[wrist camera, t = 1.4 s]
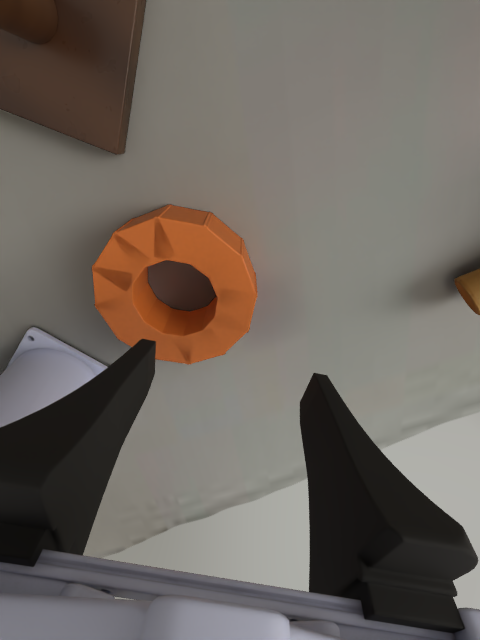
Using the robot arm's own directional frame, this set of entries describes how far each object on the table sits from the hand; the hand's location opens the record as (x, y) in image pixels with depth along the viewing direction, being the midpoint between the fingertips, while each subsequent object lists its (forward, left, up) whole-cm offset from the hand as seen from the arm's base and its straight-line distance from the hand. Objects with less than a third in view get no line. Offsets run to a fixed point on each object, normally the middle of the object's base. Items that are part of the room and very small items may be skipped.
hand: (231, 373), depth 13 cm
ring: (-2, +3, -10) cm, 10 cm away
